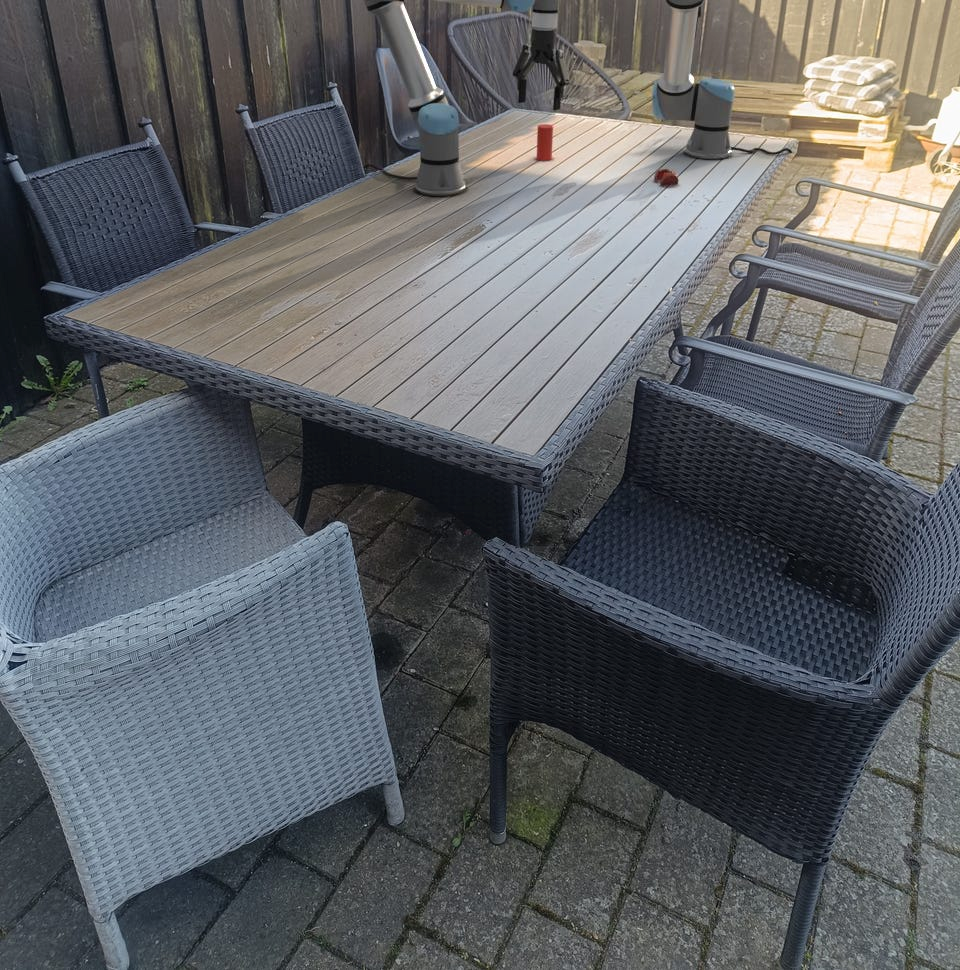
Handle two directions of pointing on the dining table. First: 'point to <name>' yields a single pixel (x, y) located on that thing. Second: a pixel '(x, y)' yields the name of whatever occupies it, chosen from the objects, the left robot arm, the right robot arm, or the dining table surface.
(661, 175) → the red lumpy piece
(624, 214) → the dining table surface
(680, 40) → the right robot arm
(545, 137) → the canister
